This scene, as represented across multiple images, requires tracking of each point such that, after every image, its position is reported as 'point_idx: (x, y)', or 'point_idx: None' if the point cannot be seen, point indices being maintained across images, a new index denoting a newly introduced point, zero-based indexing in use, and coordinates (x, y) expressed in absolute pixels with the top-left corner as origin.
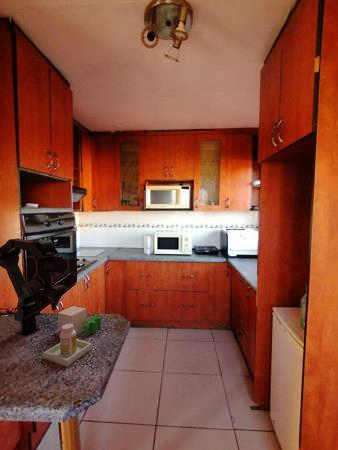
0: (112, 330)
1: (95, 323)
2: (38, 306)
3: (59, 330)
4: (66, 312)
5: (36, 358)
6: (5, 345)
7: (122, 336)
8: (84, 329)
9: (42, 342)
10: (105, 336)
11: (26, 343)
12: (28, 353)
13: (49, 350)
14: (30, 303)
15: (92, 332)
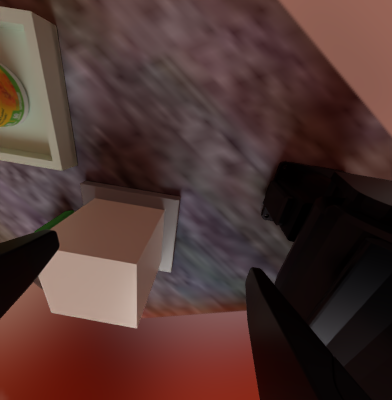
0: None
1: None
2: (250, 277)
3: (159, 211)
4: (95, 273)
5: (85, 14)
6: (324, 63)
7: None
8: (55, 222)
9: (172, 138)
10: (18, 220)
11: (232, 111)
12: (154, 39)
13: (27, 43)
14: (365, 301)
15: None
